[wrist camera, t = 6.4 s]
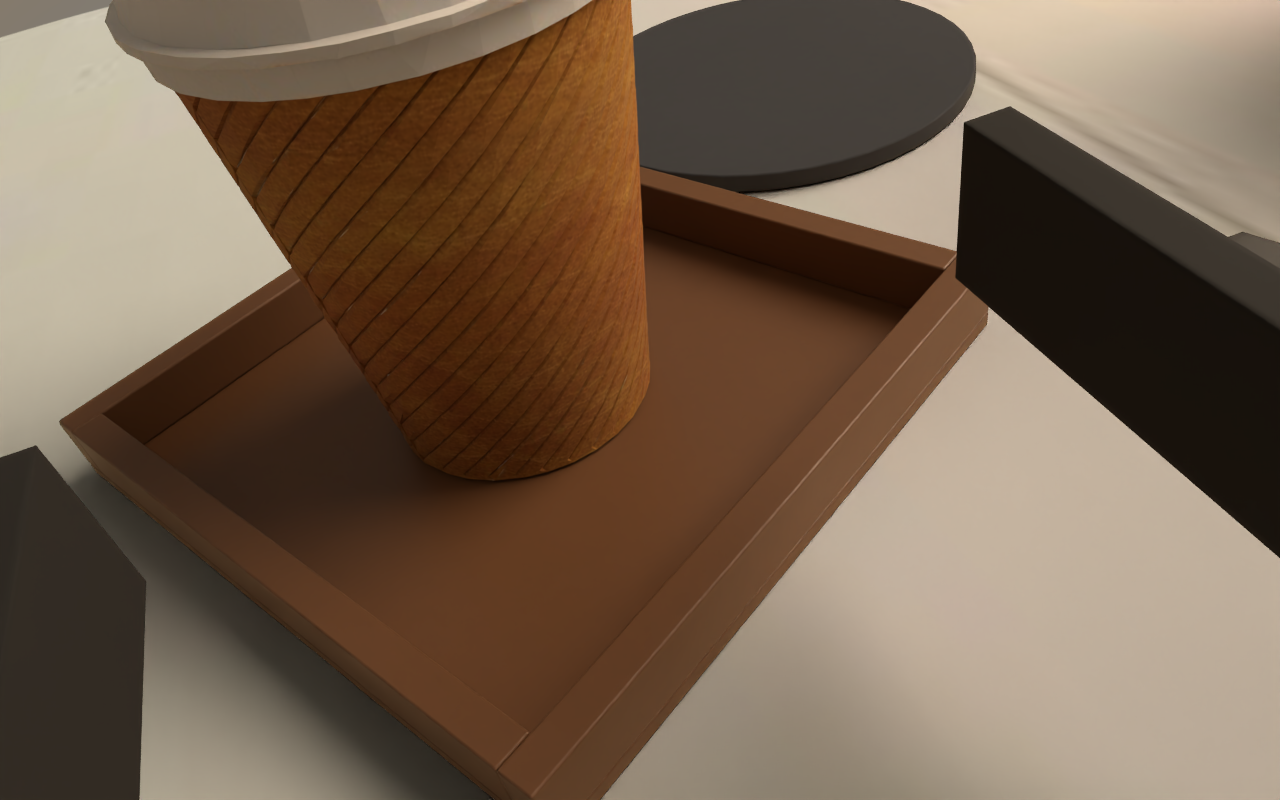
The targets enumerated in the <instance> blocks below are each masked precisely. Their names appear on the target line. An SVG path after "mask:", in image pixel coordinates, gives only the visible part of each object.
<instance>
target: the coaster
mask: <svg viewBox="0 0 1280 800" xmlns="http://www.w3.org/2000/svg"><path fill="white" fill-rule="evenodd" d="M633 50H634V65H635V87H636V102H637V120H638V145H639V167H643V168H647V169H651V170H654V171H658V172H662V173H666V174H669V175H673V176H677V177H680V178H684V179H688V180H692V181H695V182H699V183H703V184H707V185H710V186H714V187H718V188H722V189H725V190H729V191H733V192H745V191H761V190H772V189H783V188H789V187H795V186H801V185H808V184H813V183H818V182H822V181H826V180H831V179H835V178H839V177H843V176H846V175H849V174H853V173H856V172H859V171H862V170H866V169H869V168H871V167H874V166H876V165H879V164H881V163H884V162H886V161H889V160H892V159H894V158H896V157H898V156H900V155H902V154H904V153H906V152H908V151H910V150H912V149H914V148H916V147H918V146H919V145H921V144H922V143H924V142H926V141H927V140H929V139H930V138H932V137H933V136H935V135H936V134H938V133H939V132H940V131H941V130H942V129H944V128H945V127H946V126H947V125H948V124H950V123H951V122H952V121H953V120H954V119H955V117H956V116H957V115H958V114H959V113H960V112H961V111H962V109H963V108H964V106H965V105H966V103H967V101H968V99H969V98H970V96H971V94H972V91H973V87H974V84H975V76H976V55H975V52H974V49H973V46H972V44H971V42H970V40H969V39H968V38H967V36H966V35H965V33H964V32H963V31H962V30H961V29H960V28H958V27H957V26H956V25H955V24H954V23H953V22H951V21H949V20H948V19H946V18H945V17H943V16H942V15H940V14H937V13H935V12H933V11H931V10H929V9H926V8H924V7H921V6H918V5H915V4H912V3H909V2H905V1H900V0H739V1H733V2H729V3H725V4H720V5H716V6H712V7H708V8H705V9H701V10H698V11H694V12H691V13H688V14H685V15H682V16H679V17H676V18H673V19H671V20H668V21H666V22H663V23H661V24H658V25H656V26H654V27H651V28H649V29H647V30H645V31H643V32H641V33H639V34H637V35H635V36H633Z"/></svg>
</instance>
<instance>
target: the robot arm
mask: <svg viewBox="0 0 1280 800" xmlns="http://www.w3.org/2000/svg"><path fill="white" fill-rule="evenodd" d="M955 278H956V279H957V280H958V281H959V282H961V283H962V284H963V285H964V286H965V287H966V288H968V289H969V290H970V291H971V292H972V293H973V294H974V295H976V296H977V297H978V298H979V299H980V300H981V301H983V302H984V303H985V304H986V305H987V306H988V307H990V308H991V309H992V310H993V311H994V312H995V313H996V314H998V315H999V316H1000V317H1001V318H1002V319H1003V320H1005V321H1006V322H1007V323H1008V324H1009V325H1010V326H1012V327H1013V328H1014V329H1015V330H1016V331H1017V332H1019V333H1020V334H1021V335H1022V336H1023V337H1024V338H1025V339H1027V340H1028V341H1029V342H1030V343H1031V344H1032V345H1034V346H1035V347H1036V348H1037V349H1038V350H1039V351H1041V352H1042V353H1043V354H1044V355H1045V356H1046V357H1047V358H1049V359H1050V360H1051V361H1052V362H1053V363H1054V364H1056V365H1057V366H1058V367H1059V368H1060V369H1061V370H1063V371H1064V372H1065V373H1066V374H1067V375H1068V376H1069V377H1071V378H1072V379H1073V380H1074V381H1075V382H1076V383H1078V384H1079V385H1080V386H1081V387H1082V388H1083V389H1085V390H1086V391H1087V392H1088V393H1089V394H1090V395H1092V396H1093V397H1094V398H1095V399H1096V400H1097V401H1098V402H1100V403H1101V404H1102V405H1103V406H1104V407H1105V408H1107V409H1108V410H1109V411H1110V412H1111V413H1112V414H1114V415H1115V416H1116V417H1117V418H1118V419H1119V420H1120V421H1122V422H1123V423H1124V424H1125V425H1126V426H1127V427H1129V428H1130V429H1131V430H1132V431H1133V432H1134V433H1136V434H1137V435H1138V436H1139V437H1140V438H1141V439H1142V440H1144V441H1145V442H1146V443H1147V444H1148V445H1149V446H1151V447H1152V448H1153V449H1154V450H1155V451H1156V452H1158V453H1159V454H1160V455H1161V456H1162V457H1163V458H1165V459H1166V460H1167V461H1168V462H1169V463H1170V464H1171V465H1173V466H1174V467H1175V468H1176V469H1177V470H1178V471H1180V472H1181V473H1182V474H1183V475H1184V476H1185V477H1187V478H1188V479H1189V480H1190V481H1191V482H1192V483H1193V484H1195V485H1196V486H1197V487H1198V488H1199V489H1200V490H1202V491H1203V492H1204V493H1205V494H1206V495H1207V496H1209V497H1210V498H1211V499H1212V500H1213V501H1214V502H1216V503H1217V504H1218V505H1219V506H1220V507H1221V508H1222V509H1224V510H1225V511H1226V512H1227V513H1228V514H1229V515H1231V516H1232V517H1233V518H1234V519H1235V520H1236V521H1238V522H1239V523H1240V524H1241V525H1242V526H1243V527H1244V528H1246V529H1247V530H1248V531H1249V532H1250V533H1251V534H1253V535H1254V536H1255V537H1256V538H1257V539H1258V540H1260V541H1261V542H1262V543H1263V544H1264V545H1265V546H1266V547H1268V548H1269V549H1270V550H1271V551H1272V552H1273V553H1275V554H1276V555H1277V556H1278V557H1279V558H1280V243H1278V242H1275V241H1271V240H1268V239H1265V238H1261V237H1258V236H1255V235H1251V234H1248V233H1245V232H1241V233H1238V234H1235V235H1233V236H1230V237H1227V236H1225V235H1224V234H1222V233H1220V232H1219V231H1217V230H1215V229H1214V228H1212V227H1210V226H1209V225H1207V224H1205V223H1204V222H1202V221H1200V220H1199V219H1197V218H1195V217H1194V216H1192V215H1190V214H1189V213H1187V212H1185V211H1184V210H1182V209H1180V208H1179V207H1177V206H1175V205H1174V204H1172V203H1170V202H1169V201H1167V200H1165V199H1164V198H1162V197H1160V196H1159V195H1157V194H1155V193H1154V192H1152V191H1150V190H1149V189H1147V188H1145V187H1144V186H1142V185H1140V184H1139V183H1137V182H1135V181H1134V180H1132V179H1130V178H1129V177H1127V176H1125V175H1124V174H1122V173H1120V172H1119V171H1117V170H1115V169H1114V168H1112V167H1110V166H1109V165H1107V164H1105V163H1104V162H1102V161H1100V160H1099V159H1097V158H1095V157H1094V156H1092V155H1090V154H1089V153H1087V152H1085V151H1084V150H1082V149H1080V148H1079V147H1077V146H1075V145H1074V144H1072V143H1070V142H1069V141H1067V140H1065V139H1064V138H1062V137H1060V136H1059V135H1057V134H1055V133H1054V132H1052V131H1050V130H1049V129H1047V128H1045V127H1044V126H1042V125H1040V124H1039V123H1037V122H1035V121H1034V120H1032V119H1030V118H1029V117H1027V116H1025V115H1024V114H1022V113H1020V112H1019V111H1017V110H1015V109H1014V108H1012V107H1007V108H1004V109H1001V110H998V111H995V112H993V113H990V114H987V115H984V116H981V117H978V118H975V119H972V120H970V121H967V122H964V131H963V149H962V167H961V185H960V203H959V220H958V238H957V256H956V274H955ZM145 601H146V581H145V579H144V578H143V577H142V576H141V575H140V573H139V572H138V571H137V570H136V568H135V567H134V566H133V565H132V563H131V562H130V561H129V560H128V558H127V557H126V556H125V555H124V554H123V552H122V551H121V550H120V549H119V547H118V546H117V545H116V544H115V542H114V541H113V540H112V539H111V537H110V536H109V535H108V534H107V533H106V531H105V530H104V529H103V528H102V526H101V525H100V524H99V523H98V521H97V520H96V519H95V518H94V516H93V515H92V514H91V513H90V511H89V510H88V509H87V508H86V507H85V505H84V504H83V503H82V502H81V500H80V499H79V498H78V497H77V495H76V494H75V493H74V492H73V490H72V489H71V488H70V487H69V486H68V484H67V483H66V482H65V481H64V479H63V478H62V477H61V476H60V474H59V473H58V472H57V471H56V469H55V468H54V467H53V466H52V465H51V463H50V462H49V461H48V460H47V458H46V457H45V456H44V455H43V453H42V452H41V451H40V450H39V448H38V447H37V446H33V447H30V448H27V449H24V450H21V451H19V452H16V453H13V454H10V455H7V456H4V457H1V458H0V800H139V795H140V763H141V731H142V698H143V666H144V633H145Z"/></svg>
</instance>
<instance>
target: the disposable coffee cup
mask: <svg viewBox="0 0 1280 800" xmlns="http://www.w3.org/2000/svg"><path fill="white" fill-rule="evenodd" d="M105 23H106V24H107V26H108V28H109V30H110V32H111V34H112V36H113V38H114V40H115V42H116V43H117V44H118V45H119V46H120V47H121V48H122V49H123V50H124V51H125V52H126V53H127V54H129V55H131V56H133V57H135V58H137V59H139V60H141V61H143V62H144V64H145V65H146V67H147V68H148V70H149V71H150V73H151V74H152V76H153V77H154V78H155V80H156V81H157V82H159V83H161V84H162V85H164V86H166V87H168V88H170V89H172V90H174V91H175V93H176V94H177V95H178V96H179V98H180V99H181V101H182V102H183V104H184V105H185V107H186V108H187V110H188V111H189V113H190V114H191V116H192V117H193V119H194V120H195V122H196V123H197V125H198V126H199V127H200V129H201V131H202V132H203V134H204V135H205V137H206V139H207V140H208V142H209V143H210V145H211V146H212V148H213V149H214V151H215V152H216V153H217V155H218V156H219V158H220V159H221V161H222V163H223V164H224V166H225V167H226V169H227V170H228V172H229V173H230V175H231V176H232V177H233V179H234V180H235V182H236V183H237V185H238V186H239V187H240V190H241V191H242V193H243V194H244V196H245V197H246V199H247V200H248V202H249V203H250V205H251V206H252V208H253V209H254V211H255V212H256V214H257V215H258V217H259V218H260V220H261V222H262V223H263V225H264V226H265V228H266V229H267V231H268V232H269V234H270V236H271V237H272V238H273V240H274V241H275V243H276V244H277V246H278V247H279V249H280V250H281V252H282V253H283V255H284V256H285V258H286V259H287V261H288V262H289V263H290V265H291V267H292V268H293V270H294V271H295V273H296V274H297V276H298V277H299V279H300V280H301V282H302V283H303V285H304V286H305V288H306V289H307V291H308V293H309V294H310V296H311V298H312V300H313V301H314V303H315V304H316V305H317V307H318V308H319V309H320V310H321V311H322V312H323V315H324V318H325V319H326V321H327V322H328V323H329V325H330V326H331V327H332V329H333V330H334V331H335V333H336V334H337V335H338V339H339V340H340V342H341V343H342V344H343V346H344V347H345V349H346V350H347V351H348V353H349V354H350V356H351V357H352V359H353V361H354V362H355V364H356V365H357V367H358V368H359V369H360V371H361V372H362V373H363V375H364V376H365V378H366V381H367V382H368V383H369V385H370V386H371V388H372V389H373V390H374V392H375V393H376V394H377V396H378V398H379V400H380V401H381V403H382V404H383V406H384V407H385V409H386V410H387V411H388V412H389V416H390V417H391V419H392V420H393V421H394V423H395V424H396V425H397V427H398V428H399V429H400V430H401V432H402V434H403V436H404V438H405V440H406V441H407V443H408V444H409V446H410V447H411V449H412V450H413V452H414V453H415V454H416V455H417V456H418V457H419V458H420V459H421V460H422V461H423V462H424V463H426V464H428V465H430V466H433V467H435V468H437V469H439V470H441V471H443V472H446V473H448V474H450V475H454V476H458V477H462V478H467V479H477V480H492V481H496V480H505V479H514V478H523V477H529V476H533V475H537V474H542V473H546V472H549V471H552V470H555V469H557V468H560V467H562V466H565V465H567V464H570V463H573V462H575V461H577V460H579V459H580V458H582V457H584V456H586V455H588V454H589V453H591V452H593V451H595V450H597V449H598V448H599V447H601V446H602V445H603V444H605V443H606V442H607V441H609V440H610V439H611V438H612V437H614V436H615V435H616V434H618V433H619V431H620V430H621V429H622V428H623V427H624V426H625V425H626V424H627V423H628V422H629V421H630V420H631V418H632V417H633V416H634V414H635V413H636V411H637V409H638V407H639V406H640V404H641V402H642V400H643V399H644V397H645V395H646V391H647V388H648V385H649V382H650V360H649V346H648V326H647V308H646V289H645V270H644V248H643V224H642V202H641V185H640V167H639V145H638V120H637V102H636V87H635V65H634V50H633V25H632V14H631V0H113V1H112V2H111V4H110V5H109V9H108V13H107V16H106V20H105Z"/></svg>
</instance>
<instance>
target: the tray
mask: <svg viewBox="0 0 1280 800" xmlns="http://www.w3.org/2000/svg"><path fill="white" fill-rule="evenodd" d="M640 185H641V202H642V224H643V248H644V270H645V289H646V308H647V326H648V346H649V360H650V382H649V385H648V388H647V391H646V395H645V397H644V399H643V400H642V402H641V404H640V406H639V407H638V409H637V411H636V413H635V414H634V416H633V417H632V418H631V420H630V421H629V422H628V423H627V424H626V425H625V426H624V427H623V428H622V429H621V430H620V431H619V433H618V434H616V435H615V436H614V437H612V438H611V439H610V440H609V441H607V442H606V443H605V444H603V445H602V446H601V447H599V448H598V449H597V450H595V451H593V452H591V453H589V454H588V455H586V456H584V457H582V458H580V459H579V460H577V461H575V462H573V463H570V464H567V465H565V466H562V467H560V468H557V469H555V470H552V471H549V472H546V473H542V474H537V475H533V476H529V477H523V478H514V479H505V480H496V481H492V480H477V479H467V478H462V477H458V476H454V475H450V474H448V473H446V472H443V471H441V470H439V469H437V468H435V467H433V466H430V465H428V464H426V463H424V462H423V461H422V460H421V459H420V458H419V457H418V456H417V455H416V454H415V453H414V452H413V450H412V449H411V447H410V446H409V444H408V443H407V441H406V440H405V438H404V436H403V434H402V432H401V430H400V429H399V428H398V427H397V425H396V424H395V423H394V421H393V420H392V419H391V417H390V416H389V412H388V411H387V410H386V409H385V407H384V406H383V404H382V403H381V401H380V400H379V398H378V396H377V394H376V393H375V392H374V390H373V389H372V388H371V386H370V385H369V383H368V382H367V381H366V378H365V376H364V375H363V373H362V372H361V371H360V369H359V368H358V367H357V365H356V364H355V362H354V361H353V359H352V357H351V356H350V354H349V353H348V351H347V350H346V349H345V347H344V346H343V344H342V343H341V342H340V340H339V339H338V335H337V334H336V333H335V331H334V330H333V329H332V327H331V326H330V325H329V323H328V322H327V321H326V319H325V318H324V315H323V312H322V311H321V310H320V309H319V308H318V307H317V305H316V304H315V303H314V301H313V300H312V298H311V296H310V294H309V293H308V291H307V289H306V288H305V286H304V285H303V283H302V282H301V280H300V279H299V277H298V276H297V274H296V273H295V271H294V270H293V268H291V269H289V270H288V271H286V272H285V273H283V274H282V275H280V276H279V277H277V278H276V279H274V280H273V281H271V282H270V283H268V284H266V285H265V286H263V287H262V288H260V289H259V290H257V291H256V292H254V293H253V294H251V295H250V296H248V297H247V298H245V299H244V300H242V301H241V302H239V303H238V304H236V305H235V306H233V307H231V308H230V309H228V310H227V311H225V312H224V313H222V314H221V315H219V316H218V317H216V318H215V319H213V320H212V321H210V322H209V323H207V324H206V325H204V326H203V327H201V328H200V329H198V330H197V331H195V332H193V333H192V334H190V335H189V336H187V337H186V338H184V339H183V340H181V341H180V342H178V343H177V344H175V345H174V346H172V347H171V348H169V349H168V350H166V351H165V352H163V353H162V354H160V355H158V356H157V357H155V358H154V359H152V360H151V361H149V362H148V363H146V364H145V365H143V366H142V367H140V368H139V369H137V370H136V371H134V372H133V373H131V374H130V375H128V376H127V377H125V378H123V379H122V380H120V381H119V382H117V383H116V384H114V385H113V386H111V387H110V388H108V389H107V390H105V391H104V392H102V393H101V394H99V395H98V396H96V397H95V398H93V399H92V400H90V401H88V402H87V403H85V404H84V405H82V406H81V407H79V408H78V409H76V410H75V411H73V412H72V413H70V414H69V415H67V416H66V417H64V418H63V419H61V420H60V421H59V422H60V425H61V426H62V428H63V429H64V430H65V432H66V433H67V434H68V435H69V437H70V438H71V439H72V441H73V442H74V443H75V445H76V446H77V447H78V448H79V450H80V451H81V452H82V454H83V455H84V456H85V457H86V459H87V460H88V461H89V462H90V463H91V466H92V467H93V468H94V469H95V471H96V472H97V473H98V474H99V475H100V476H101V477H103V478H104V479H105V480H106V481H108V482H109V483H110V484H111V485H112V486H114V487H115V488H116V489H117V490H119V491H120V492H121V493H122V494H123V495H125V496H126V497H127V498H128V499H129V500H131V501H132V502H133V503H134V504H136V505H137V506H138V507H139V508H140V509H142V510H143V511H144V512H145V513H146V514H148V515H149V516H150V517H151V518H153V519H154V520H155V521H156V522H157V523H159V524H160V525H161V526H162V527H163V528H165V529H166V530H167V531H168V532H170V533H171V534H172V535H173V536H174V537H176V538H177V539H178V540H179V541H181V542H182V543H183V544H184V545H185V546H187V547H188V548H189V549H190V550H191V551H193V552H194V553H195V554H196V555H198V556H199V557H200V558H201V559H202V560H204V561H205V562H206V563H207V564H208V565H210V566H211V567H212V568H213V569H215V570H216V571H217V572H218V573H219V574H221V575H222V576H223V577H224V578H226V579H227V580H228V581H229V582H230V583H232V584H233V585H234V586H235V587H236V588H238V589H239V590H240V591H241V592H243V593H244V594H245V595H246V596H247V597H249V598H250V599H251V600H252V601H253V602H255V603H256V604H257V605H258V606H260V607H261V608H262V609H263V610H264V611H266V612H267V613H268V614H269V615H271V616H272V617H273V618H274V619H275V620H277V621H278V622H279V623H280V624H281V625H283V626H284V627H285V628H286V629H288V630H289V631H290V632H291V633H292V634H294V635H295V636H296V637H297V638H298V639H300V640H301V641H302V642H303V643H305V644H306V645H307V646H308V647H309V648H311V649H312V650H313V651H314V652H315V653H317V654H318V655H319V656H320V657H322V658H323V659H324V660H325V661H326V662H328V663H329V664H330V665H331V666H333V667H334V668H335V669H336V670H337V671H339V672H340V673H341V674H342V675H343V676H345V677H346V678H347V679H348V680H350V681H351V682H352V683H353V684H354V685H356V686H357V687H358V688H359V689H360V690H362V691H363V692H364V693H365V694H367V695H368V696H369V697H370V698H371V699H373V700H374V701H375V702H376V703H378V704H379V705H380V706H381V707H382V708H384V709H385V710H386V711H387V712H388V713H390V714H391V715H392V716H393V717H395V718H396V719H397V720H398V721H399V722H401V723H402V724H403V725H404V726H405V727H407V728H408V729H409V730H410V731H412V732H413V733H414V734H415V735H416V736H418V737H419V738H420V739H421V740H423V741H424V742H425V743H426V744H427V745H429V746H430V747H431V748H432V749H433V750H435V751H436V752H437V753H438V754H440V755H441V756H442V757H443V758H444V759H446V760H447V761H448V762H449V763H450V764H452V765H453V766H454V767H455V768H457V769H458V770H459V771H460V772H461V773H463V774H464V775H465V776H466V777H467V778H469V779H470V780H471V781H472V782H474V783H475V784H476V785H477V786H478V787H480V788H481V789H482V790H483V791H485V792H486V793H487V794H488V795H489V796H491V797H492V798H493V799H494V800H600V799H601V798H602V796H603V795H604V794H605V793H606V792H607V790H608V789H609V788H610V787H611V785H612V784H613V783H614V782H615V781H616V779H617V778H618V777H619V776H620V774H621V773H622V772H623V771H624V769H625V768H626V767H627V766H628V765H629V763H630V762H631V761H632V760H633V758H634V757H635V756H636V755H637V753H638V752H639V751H640V750H641V749H642V747H643V746H644V745H645V744H646V742H647V741H648V740H649V739H650V738H651V736H652V735H653V734H654V733H655V731H656V730H657V729H658V728H659V726H660V725H661V724H662V723H663V722H664V720H665V719H666V718H667V717H668V715H669V714H670V713H671V712H672V710H673V709H674V708H675V707H676V706H677V704H678V703H679V702H680V701H681V699H682V698H683V697H684V696H685V695H686V693H687V692H688V691H689V690H690V688H691V687H692V686H693V685H694V683H695V682H696V681H697V680H698V679H699V677H700V676H701V675H702V674H703V672H704V671H705V670H706V669H707V667H708V666H709V665H710V664H711V663H712V661H713V660H714V659H715V658H716V656H717V655H718V654H719V653H720V651H721V650H722V649H723V648H724V647H725V645H726V644H727V643H728V642H729V640H730V639H731V638H732V637H733V636H734V634H735V633H736V632H737V631H738V629H739V628H740V627H741V626H742V624H743V623H744V622H745V621H746V620H747V618H748V617H749V616H750V615H751V613H752V612H753V611H754V610H755V608H756V607H757V606H758V605H759V604H760V602H761V601H762V600H763V599H764V597H765V596H766V595H767V594H768V593H769V591H770V590H771V589H772V588H773V586H774V585H775V584H776V583H777V581H778V580H779V579H780V578H781V577H782V575H783V574H784V573H785V572H786V570H787V569H788V568H789V567H790V565H791V564H792V563H793V562H794V561H795V559H796V558H797V557H798V556H799V554H800V553H801V552H802V551H803V549H804V548H805V547H806V546H807V545H808V543H809V542H810V541H811V540H812V538H813V537H814V536H815V535H816V534H817V532H818V531H819V530H820V529H821V527H822V526H823V525H824V524H825V522H826V521H827V520H828V519H829V518H830V516H831V515H832V514H833V513H834V511H835V510H836V509H837V508H838V506H839V505H840V504H841V503H842V502H843V500H844V499H845V498H846V497H847V495H848V494H849V493H850V492H851V491H852V489H853V488H854V487H855V486H856V484H857V483H858V482H859V481H860V479H861V478H862V477H863V476H864V475H865V473H866V472H867V471H868V470H869V468H870V467H871V466H872V465H873V463H874V462H875V461H876V460H877V459H878V457H879V456H880V455H881V454H882V452H883V451H884V450H885V449H886V448H887V446H888V445H889V444H890V443H891V441H892V440H893V439H894V438H895V436H896V435H897V434H898V433H899V432H900V430H901V429H902V428H903V427H904V425H905V424H906V423H907V422H908V420H909V419H910V418H911V417H912V416H913V414H914V413H915V412H916V411H917V409H918V408H919V407H920V406H921V404H922V403H923V402H924V401H925V400H926V398H927V397H928V396H929V395H930V393H931V392H932V391H933V390H934V389H935V387H936V386H937V385H938V384H939V382H940V381H941V380H942V379H943V377H944V376H945V375H946V374H947V373H948V371H949V370H950V369H951V368H952V366H953V365H954V364H955V363H956V361H957V360H958V359H959V358H960V357H961V355H962V354H963V353H964V352H965V350H966V349H967V348H968V347H969V346H970V344H971V343H972V342H973V341H974V339H975V338H976V337H977V336H978V334H979V333H980V332H981V331H982V330H983V328H984V327H985V326H986V325H987V317H988V306H987V305H986V304H985V303H984V302H983V301H981V300H980V299H979V298H978V297H977V296H976V295H974V294H973V293H972V292H971V291H970V290H969V289H968V288H966V287H965V286H964V285H963V284H962V283H961V282H959V281H958V280H957V279H956V278H955V274H956V256H957V251H953V250H949V249H946V248H942V247H938V246H935V245H931V244H927V243H923V242H920V241H916V240H912V239H908V238H905V237H901V236H897V235H893V234H890V233H886V232H882V231H878V230H875V229H871V228H867V227H864V226H860V225H856V224H852V223H849V222H845V221H841V220H837V219H834V218H830V217H826V216H822V215H819V214H815V213H811V212H808V211H804V210H800V209H796V208H793V207H789V206H785V205H781V204H778V203H774V202H770V201H766V200H763V199H759V198H755V197H751V196H748V195H744V194H740V193H737V192H733V191H729V190H725V189H722V188H718V187H714V186H710V185H707V184H703V183H699V182H695V181H692V180H688V179H684V178H680V177H677V176H673V175H669V174H666V173H662V172H658V171H654V170H651V169H647V168H643V167H640Z"/></svg>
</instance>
